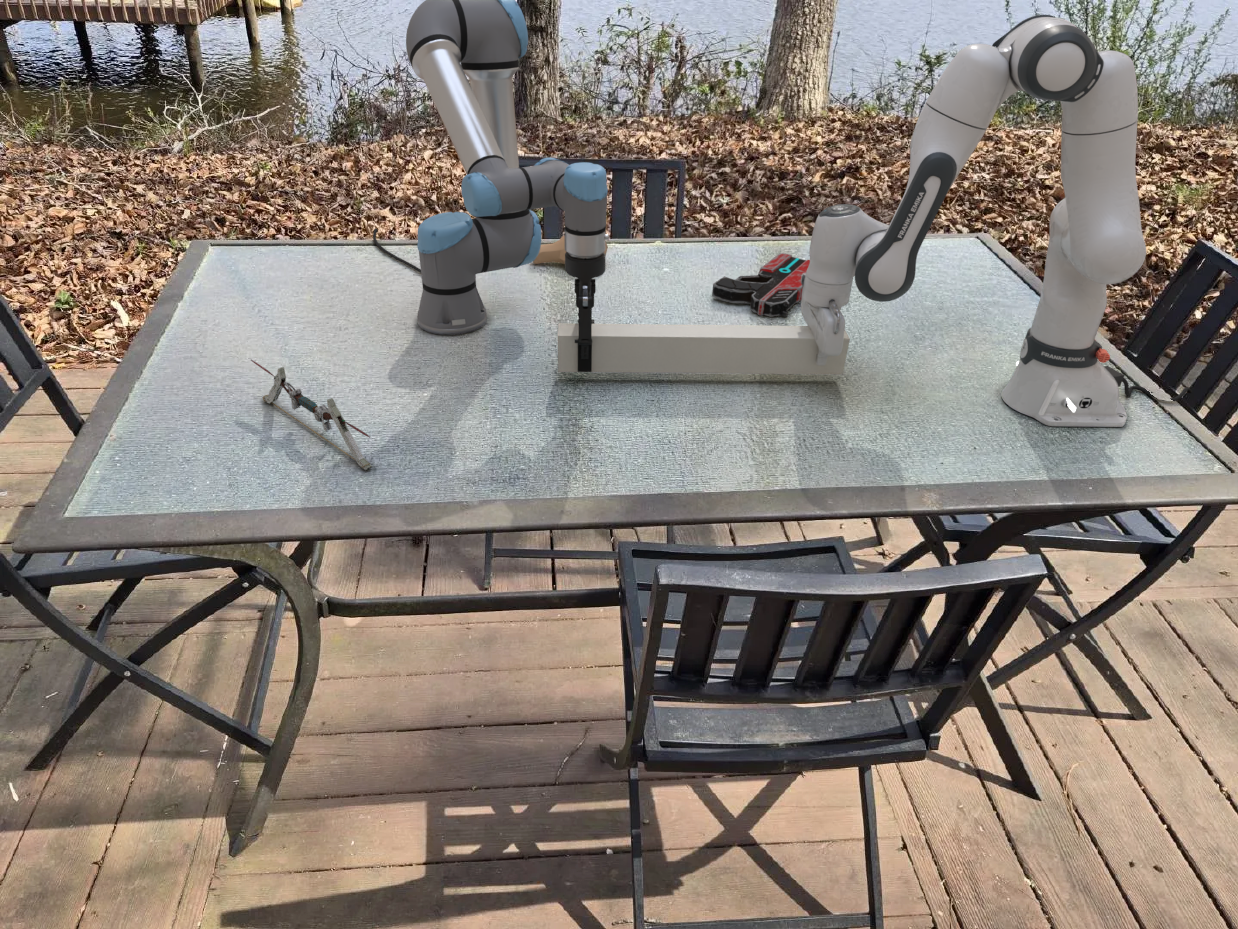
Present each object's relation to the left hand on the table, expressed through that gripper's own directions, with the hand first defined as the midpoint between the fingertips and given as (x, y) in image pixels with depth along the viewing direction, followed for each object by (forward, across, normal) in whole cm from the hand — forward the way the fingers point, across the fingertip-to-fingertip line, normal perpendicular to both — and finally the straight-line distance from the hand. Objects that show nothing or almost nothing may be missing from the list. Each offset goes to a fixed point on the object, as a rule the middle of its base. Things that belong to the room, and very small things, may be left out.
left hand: (584, 363), depth 175 cm
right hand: (-2, 0, -46) cm, 46 cm away
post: (+1, 0, -23) cm, 23 cm away
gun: (+4, +45, -46) cm, 65 cm away
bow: (+3, -21, +48) cm, 53 cm away
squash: (+4, +62, +4) cm, 62 cm away
